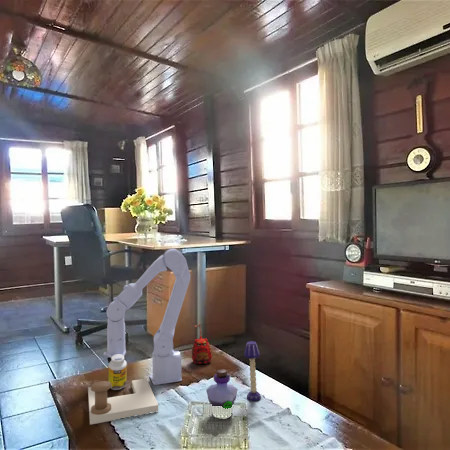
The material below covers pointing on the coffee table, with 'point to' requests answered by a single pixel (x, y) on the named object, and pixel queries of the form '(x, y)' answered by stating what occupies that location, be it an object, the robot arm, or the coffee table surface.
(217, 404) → the potion bottle
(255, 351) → the toy lamp
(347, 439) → the coffee table surface
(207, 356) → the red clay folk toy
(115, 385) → the supplement bottle
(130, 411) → the notched board
